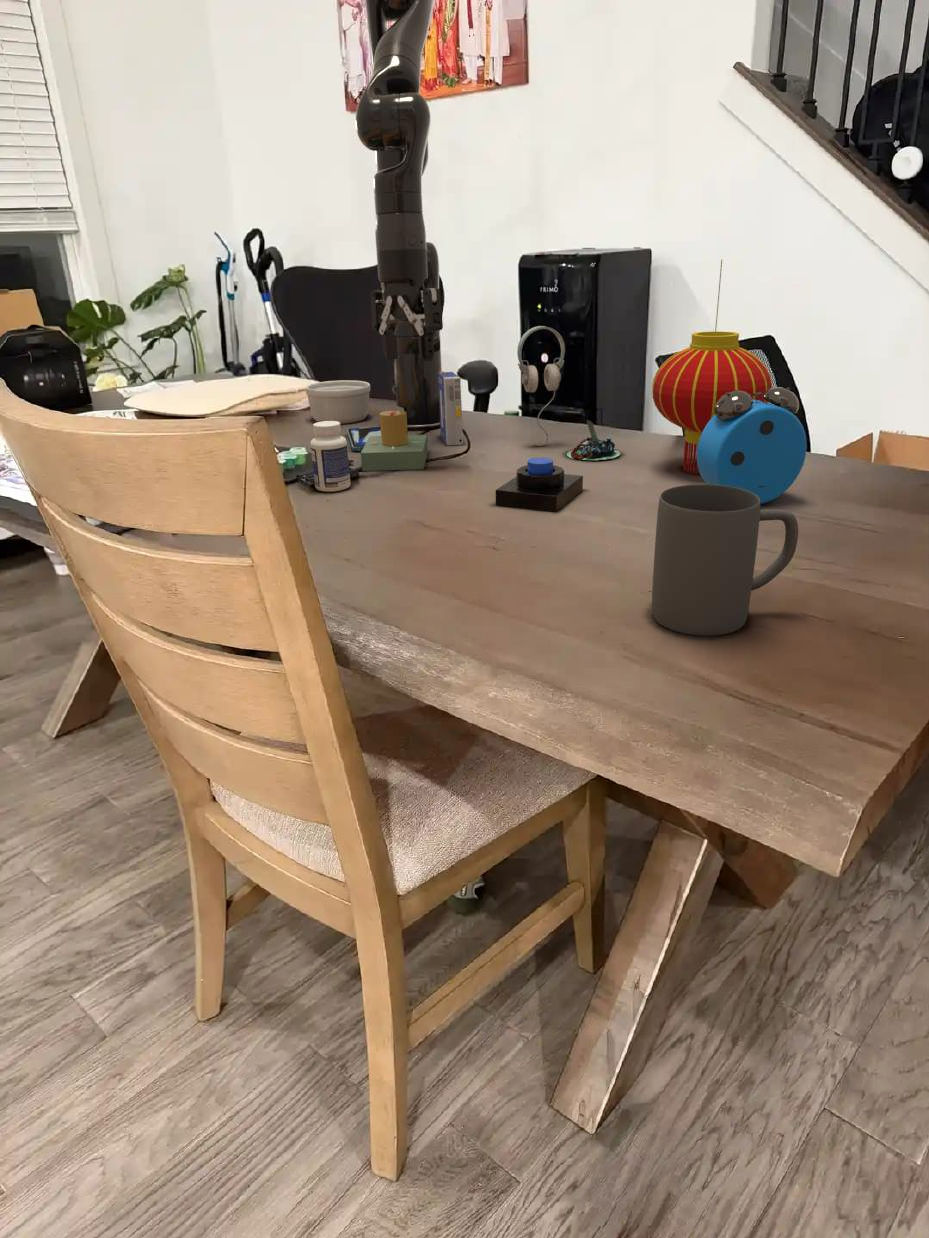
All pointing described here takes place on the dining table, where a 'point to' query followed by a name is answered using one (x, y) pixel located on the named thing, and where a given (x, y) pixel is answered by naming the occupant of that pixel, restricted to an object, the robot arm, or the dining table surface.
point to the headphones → (550, 372)
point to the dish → (594, 447)
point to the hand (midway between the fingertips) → (408, 360)
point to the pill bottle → (330, 457)
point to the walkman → (450, 408)
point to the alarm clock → (753, 443)
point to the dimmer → (394, 454)
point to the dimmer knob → (394, 428)
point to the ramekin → (339, 400)
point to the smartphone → (362, 436)
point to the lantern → (705, 382)
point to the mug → (711, 557)
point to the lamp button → (540, 466)
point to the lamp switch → (539, 490)
